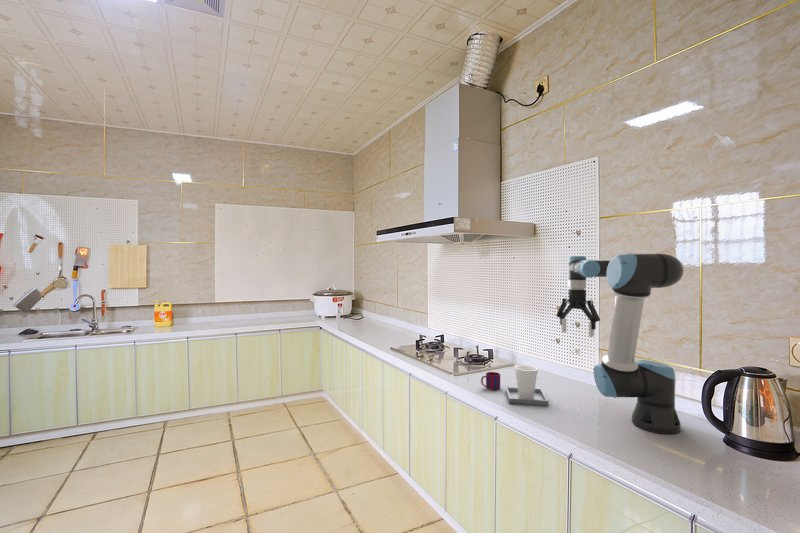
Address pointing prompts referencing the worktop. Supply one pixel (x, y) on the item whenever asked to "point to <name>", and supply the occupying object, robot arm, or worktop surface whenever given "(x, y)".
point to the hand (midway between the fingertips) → (577, 334)
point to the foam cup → (526, 381)
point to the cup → (492, 380)
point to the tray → (515, 399)
